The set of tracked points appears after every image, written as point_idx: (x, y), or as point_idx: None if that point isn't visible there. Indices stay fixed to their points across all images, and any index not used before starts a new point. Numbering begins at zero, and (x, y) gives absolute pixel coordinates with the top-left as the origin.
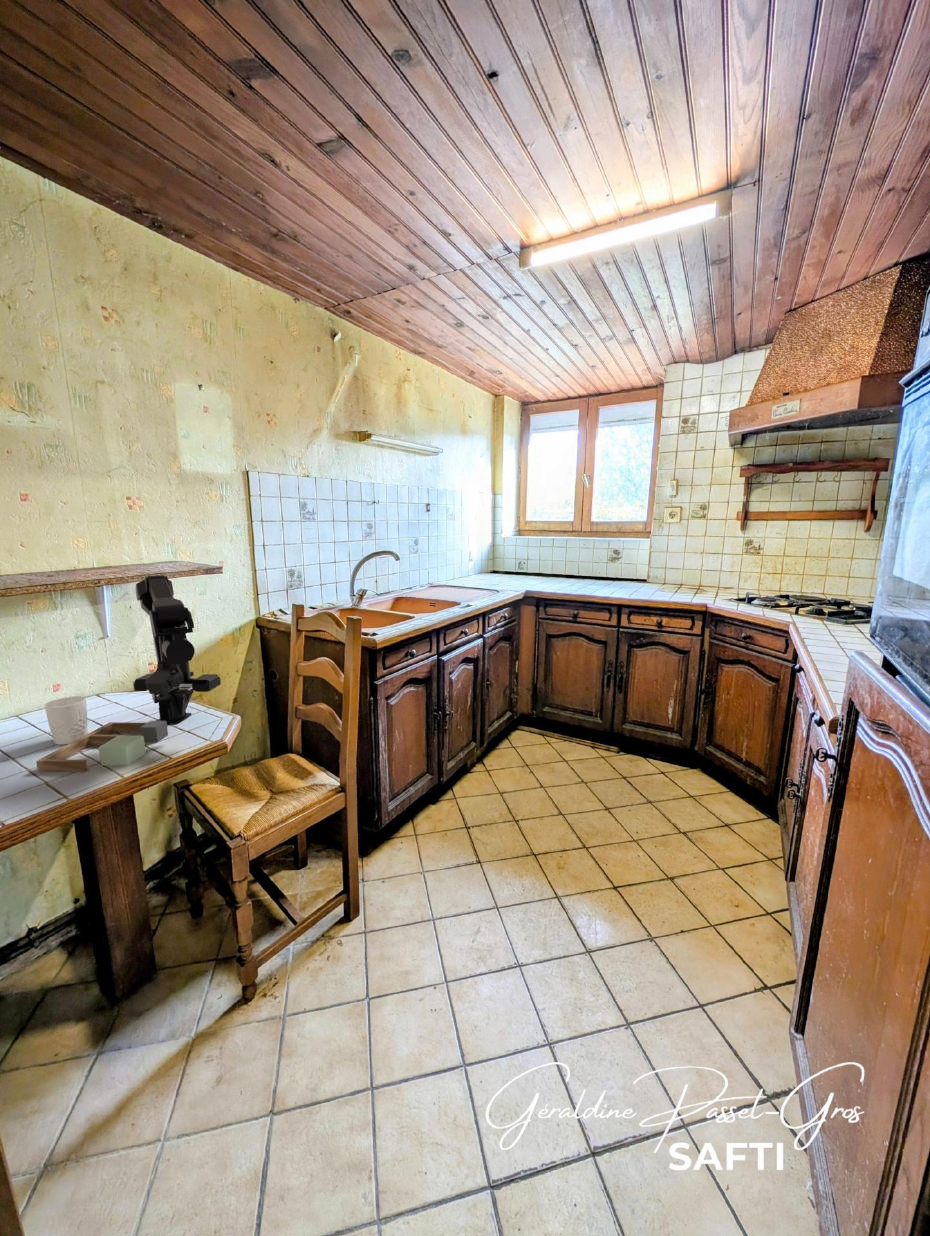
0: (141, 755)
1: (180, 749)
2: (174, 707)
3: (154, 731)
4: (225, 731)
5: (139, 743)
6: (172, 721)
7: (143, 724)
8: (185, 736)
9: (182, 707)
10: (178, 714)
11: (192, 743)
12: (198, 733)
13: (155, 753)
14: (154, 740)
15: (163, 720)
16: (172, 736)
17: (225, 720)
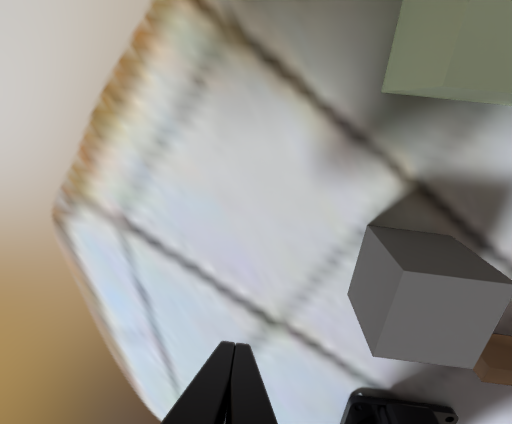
0: (392, 50)
1: (202, 120)
2: (269, 421)
3: (404, 256)
4: (96, 302)
5: (437, 25)
6: (378, 407)
7: (505, 368)
8: (256, 273)
9: (172, 410)
10: (247, 351)
11: (178, 190)
12: (210, 296)
13: (320, 78)
14: (388, 232)
15: (420, 414)
16: (320, 279)
17: (163, 398)
